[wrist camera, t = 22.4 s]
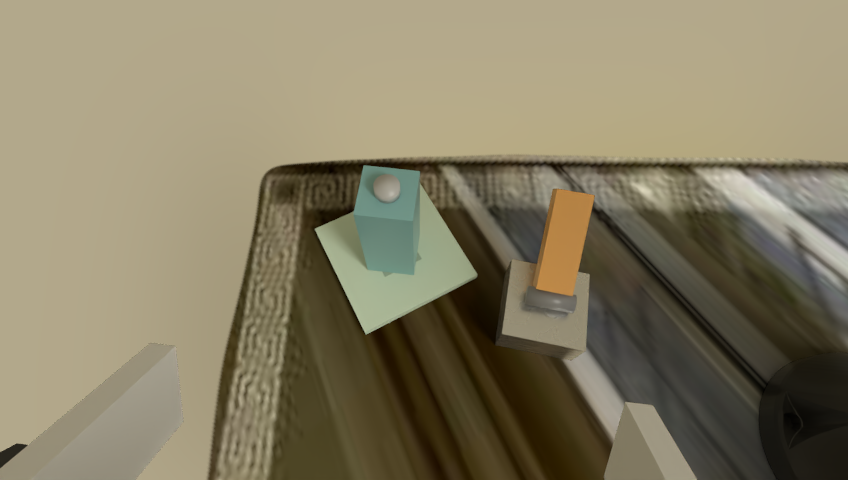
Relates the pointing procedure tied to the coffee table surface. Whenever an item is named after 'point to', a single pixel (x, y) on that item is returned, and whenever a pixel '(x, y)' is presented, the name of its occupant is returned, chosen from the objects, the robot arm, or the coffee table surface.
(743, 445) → the coffee table surface
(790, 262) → the coffee table surface
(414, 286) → the pad
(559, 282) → the lever
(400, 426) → the coffee table surface
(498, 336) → the box
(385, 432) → the coffee table surface
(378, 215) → the teal tall block
